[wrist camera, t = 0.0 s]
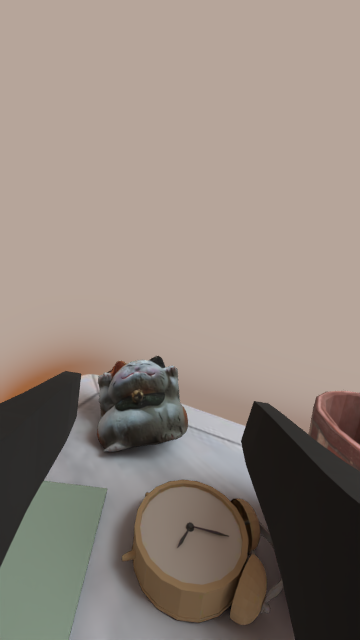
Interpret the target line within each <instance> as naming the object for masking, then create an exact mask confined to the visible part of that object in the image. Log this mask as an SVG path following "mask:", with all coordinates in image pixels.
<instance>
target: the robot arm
mask: <svg viewBox="0 0 360 640" xmlns="http://www.w3.org/2000/svg"><path fill="white" fill-rule="evenodd" d="M80 380H81V374H80V373H73V372H68V371H65V372H63V373H61V374H59V375H57V376H55V377H53V378H51V379H49V380H47V381H45V382H44V383H41V384H40V385H38V386H36V387H34V388H32V389H30V390H28V391H26V392H24V393H22V394H20V395H18V396H15V397H13V398H11V399H9V400H7V401H5V402H2V403H0V567H1V565H2V563H3V560H4V558H5V556H6V554H7V552H8V549H9V547H10V545H11V543H12V541H13V539H14V537H15V534H16V532H17V530H18V528H19V526H20V524H21V522H22V519H23V517H24V515H25V513H26V511H27V509H28V507H29V506H30V504H31V502H32V500H33V498H34V496H35V495H36V493H37V491H38V489H39V488H40V486H41V484H42V483H43V481H44V479H45V477H46V476H47V474H48V472H49V470H50V469H51V467H52V465H53V464H54V462H55V460H56V458H57V457H58V455H59V453H60V451H61V450H62V448H63V446H64V444H65V442H66V441H67V438H68V436H69V434H70V431H71V429H72V427H73V424H74V422H75V419H76V416H77V407H78V398H79V389H80ZM241 443H242V448H243V453H244V458H245V462H246V466H247V469H248V472H249V475H250V478H251V481H252V484H253V486H254V489H255V492H256V495H257V498H258V500H259V503H260V506H261V509H262V512H263V515H264V517H265V520H266V523H267V526H268V529H269V532H270V536H271V539H272V542H273V546H274V550H275V554H276V558H277V562H278V566H279V570H280V574H281V578H282V582H283V586H284V591H285V595H286V599H287V603H288V608H289V612H290V617H291V621H292V626H293V631H294V636H295V640H360V471H359V470H357V469H356V468H354V467H352V466H351V465H349V464H348V463H346V462H345V461H343V460H342V459H341V458H339V457H338V456H336V455H335V454H334V453H332V452H331V451H329V450H328V449H327V448H325V447H324V446H323V445H321V444H320V443H319V442H317V441H316V440H315V439H313V438H312V437H311V436H310V435H308V434H307V433H306V432H305V431H303V430H302V429H301V428H299V427H298V426H297V425H296V424H294V423H293V422H292V421H291V420H290V419H288V418H287V417H286V416H284V415H283V414H282V413H281V412H279V411H278V410H277V409H275V408H274V407H272V406H271V405H270V404H268V403H262V402H256V401H254V403H253V406H252V409H251V412H250V415H249V418H248V421H247V424H246V428H245V431H244V434H243V437H242V440H241Z"/></svg>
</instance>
